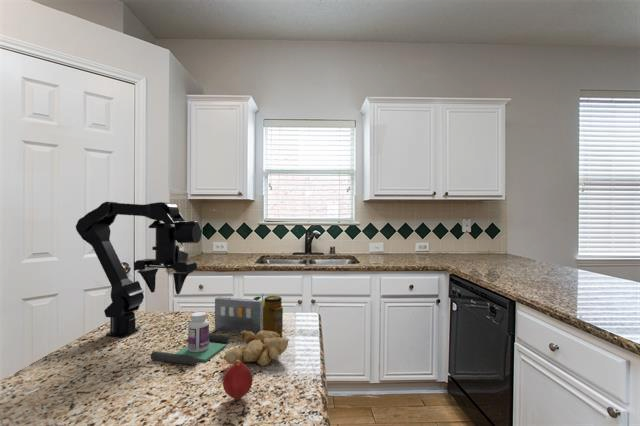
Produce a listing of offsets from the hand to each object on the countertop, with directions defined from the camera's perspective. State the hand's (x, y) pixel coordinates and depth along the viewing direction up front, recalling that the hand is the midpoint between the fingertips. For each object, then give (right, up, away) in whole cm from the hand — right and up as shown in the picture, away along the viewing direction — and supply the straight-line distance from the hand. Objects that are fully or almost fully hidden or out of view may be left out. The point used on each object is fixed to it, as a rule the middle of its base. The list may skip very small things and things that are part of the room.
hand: (165, 293), depth 100 cm
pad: (+15, -13, -12) cm, 24 cm away
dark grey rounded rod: (+11, -13, -18) cm, 25 cm away
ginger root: (+32, -13, -15) cm, 38 cm away
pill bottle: (+15, -13, -12) cm, 23 cm away
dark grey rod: (+15, -13, -4) cm, 20 cm away
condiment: (+34, -13, -1) cm, 36 cm away
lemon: (+28, -14, +12) cm, 33 cm away
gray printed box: (+22, -13, +4) cm, 26 cm away
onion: (+31, -13, -35) cm, 49 cm away
